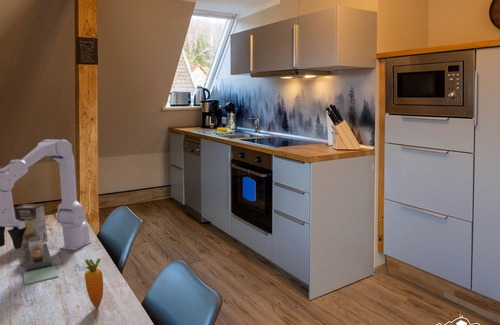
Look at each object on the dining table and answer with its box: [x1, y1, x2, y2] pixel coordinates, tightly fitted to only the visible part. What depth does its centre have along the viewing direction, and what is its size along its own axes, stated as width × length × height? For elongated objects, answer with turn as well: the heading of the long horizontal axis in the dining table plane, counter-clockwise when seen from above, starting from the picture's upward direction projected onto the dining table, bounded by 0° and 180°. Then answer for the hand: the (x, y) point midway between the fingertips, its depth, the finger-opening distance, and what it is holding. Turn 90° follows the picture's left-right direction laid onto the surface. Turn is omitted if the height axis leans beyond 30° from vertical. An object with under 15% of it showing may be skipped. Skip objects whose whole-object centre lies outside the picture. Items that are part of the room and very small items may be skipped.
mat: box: [22, 265, 59, 286], centre depth 140 cm, size 10×10×1 cm
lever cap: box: [28, 236, 44, 257], centre depth 153 cm, size 6×4×6 cm
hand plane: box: [23, 242, 53, 272], centre depth 154 cm, size 20×8×6 cm, turn 30°
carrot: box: [84, 257, 104, 309], centre depth 116 cm, size 5×5×15 cm
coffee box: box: [14, 203, 49, 246], centre depth 171 cm, size 9×6×16 cm
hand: (9, 247), depth 140 cm, fingers open, 7 cm apart
